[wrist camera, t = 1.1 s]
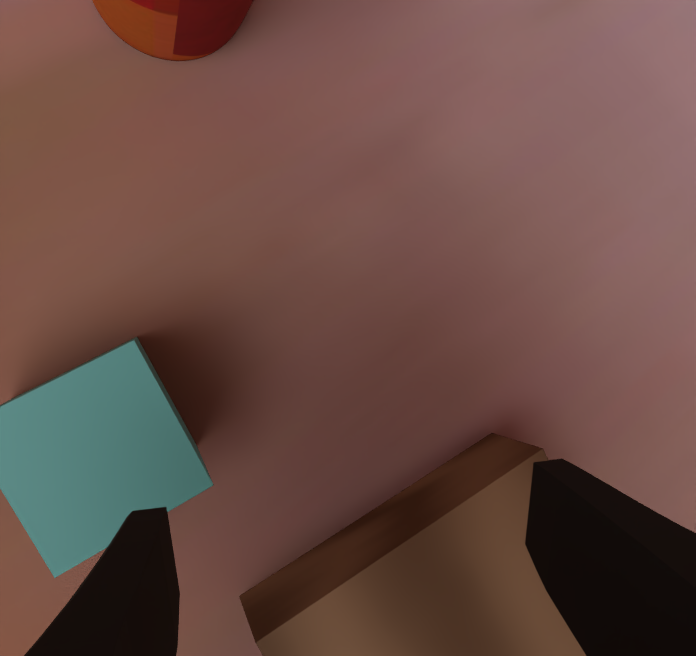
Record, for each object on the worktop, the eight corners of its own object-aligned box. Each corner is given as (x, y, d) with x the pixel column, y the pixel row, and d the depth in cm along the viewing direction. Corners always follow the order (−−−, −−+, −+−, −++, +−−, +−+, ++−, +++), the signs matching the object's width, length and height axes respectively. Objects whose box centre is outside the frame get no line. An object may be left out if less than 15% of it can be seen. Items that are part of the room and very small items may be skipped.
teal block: (78, 512, 22) (54, 577, 16) (11, 399, 21) (-38, 425, 16) (196, 445, 23) (213, 485, 17) (136, 336, 22) (133, 340, 17)
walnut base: (375, 837, 26) (415, 926, 22) (237, 592, 24) (256, 642, 20) (593, 658, 29) (662, 708, 25) (487, 431, 27) (543, 448, 23)
